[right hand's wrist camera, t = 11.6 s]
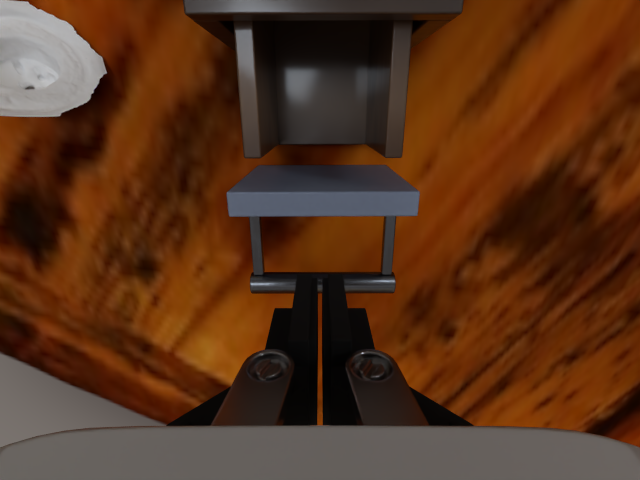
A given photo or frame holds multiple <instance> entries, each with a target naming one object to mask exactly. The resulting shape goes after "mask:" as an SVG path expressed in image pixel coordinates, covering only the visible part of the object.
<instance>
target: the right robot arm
mask: <svg viewBox="0 0 640 480" xmlns="http://www.w3.org/2000/svg"><path fill="white" fill-rule="evenodd" d="M317 382H318V278H312V274H297V279H296V286H295V293H294V300H293V307H292V308H275V310H274V313H273V318H272V322H271V326H270V330H269V335H268V339H267V343H266V348H265V350H262V351H259V352H256V353H254V354H252V355H251V356H249V357H248V358H247V359H246V360H245V362H244V363H243V365H242V367H241V369H240V370H239V372H238V374H237V376H236V378H235V380H234V382H233V384H232V386H231V387H229V388H228V389H226V390H224V391H223V392H221V393H219V394H218V395H216V396H214V397H213V398H211V399H209V400H208V401H206V402H204V403H203V404H201V405H199V406H198V407H196V408H194V409H193V410H191V411H189V412H188V413H186V414H184V415H183V416H181V417H179V418H178V419H176V420H174V421H173V422H171V423H169V424H168V425H167V426H129V427H102V428H85V429H76V430H67V431H61V432H56V433H51V434H46V435H41V436H36V437H32V438H29V439H26V440H22V441H19V442H16V443H12V444H9V445H6V446H3V447H1V448H0V480H640V447H637V446H634V445H631V444H628V443H625V442H621V441H618V440H614V439H611V438H608V437H604V436H599V435H594V434H589V433H584V432H579V431H573V430H564V429H555V428H538V427H511V426H473V425H472V424H471V423H469V422H467V421H466V420H464V419H462V418H461V417H459V416H457V415H456V414H454V413H452V412H451V411H449V410H447V409H446V408H444V407H442V406H441V405H439V404H437V403H436V402H434V401H432V400H431V399H429V398H427V397H426V396H424V395H422V394H421V393H419V392H417V391H416V390H414V389H412V388H411V387H409V386H408V384H407V382H406V380H405V378H404V376H403V374H402V372H401V370H400V369H399V367H398V365H397V363H396V362H395V360H394V359H393V358H392V357H391V356H389V355H388V354H386V353H384V352H381V351H378V350H375V348H374V343H373V339H372V335H371V330H370V326H369V322H368V318H367V313H366V310H365V308H348V307H347V300H346V293H345V286H344V279H343V274H328V278H322V382H323V425H330V426H310V425H317Z"/></svg>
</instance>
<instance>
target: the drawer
mask: <svg viewBox="0 0 640 480" xmlns="http://www.w3.org/2000/svg"><path fill="white" fill-rule="evenodd" d="M233 24H234V36H235V49H236V62H237V74H238V87H239V100H240V112H241V125H242V138H243V150H244V157H245V158H261V157H263V156H264V155H265V154H267V153H268V152H269V151H271V150H272V149H273V148H275V147H276V146H277V145H307V144H366V145H368V146H369V147H371V148H372V149H374V150H375V151H377V152H378V153H380V154H381V155H383V156H384V157H386V158H401V157H402V152H403V139H404V126H405V113H406V101H407V88H408V75H409V63H410V50H411V37H412V24H413V20H293V21H233ZM419 195H420V192H419V191H418V190H417V189H415V188H414V187H413V186H412V185H410V184H409V183H408V182H406V181H405V180H404V179H403V178H401V177H400V176H399V175H398V174H396V173H395V172H394V171H393V170H391V169H390V168H389V167H388V166H386V165H259V166H257V167H256V168H255V169H254V170H253V171H251V172H250V173H249V174H248V175H247V176H246V177H244V178H243V179H242V180H241V181H240V182H238V183H237V184H236V185H235V186H234V187H233V188H231V189H230V190H229V191H228V192H227V202H228V212H229V216H231V217H249V220H250V233H251V245H252V258H253V271H254V272H252V274H251V277H250V290H251V293H252V294H285V293H295V286H296V279H297V274H312V278H318V293H322V278H328V274H343V279H344V286H345V293H394V291H395V275H394V273H393V272H392V262H393V249H394V236H395V224H396V216H417V214H418V205H419ZM261 216H384V225H383V240H382V256H381V272H264V271H265V268H264V252H263V237H262V222H261Z"/></svg>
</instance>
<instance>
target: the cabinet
mask: <svg viewBox="0 0 640 480" xmlns="http://www.w3.org/2000/svg"><path fill="white" fill-rule="evenodd" d="M183 3H184V11H185V14H186V15H187V16H188V17H190V18H191V19H192V20H194V22H196V23H197V24H199V25H200V26H201V27H203V28H204V29H205V30H207V31H208V32H210V33H211V34H212V35H214V36H215V37H216V38H218V39H219V40H221V41H222V42H223V43H225V44H226V45H227V46H229V47H230V48H232V49H233V50H234V51H236V49H235V36H234V24H233V21H293V20H413V24H412V37H411V48H413V47H414V46H416V45H417V44H419V43H420V42H421V41H423V40H424V39H426V38H427V37H428V36H430V35H431V34H433V33H434V32H436V31H437V30H438V29H440V28H441V27H443V26H444V25H445V24H447V23H448V22H450V21H451V20H452V19H454V18H456V17H457V16H458V15H460V14H461V13H462V9H463V0H183Z"/></svg>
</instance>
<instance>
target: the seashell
mask: <svg viewBox="0 0 640 480" xmlns="http://www.w3.org/2000/svg"><path fill="white" fill-rule="evenodd" d="M104 74H107V72H106V69H105V65H104V62H103V58H102V57H101V56H99V55H98V54H97V53H95V51H94V50H93V49H92V48H90V45H89V44H88V43H87V42H86V41H85V40H83V38H81V37H80V36H79V35H77V34H76V31H74V28H73V27H72V25H70V24H68V22H66V21H63V20H60V19H58V18H56V17H55V16H54V15H51V14H48V13H46V12H44V11H42V10H41V9H39V10H38V9H36V8H35V7H34V6H32V5H30V4H29V2H23V1H10V0H0V116H17V117H53V116H60V115H61V113H63V112H65V111H68V110H70V109H73V108H76V107H78V106H80V105H83V104H84V103H87V101H89V100H90V98H91V94H92V93H94V89H95V88H96V87H97V85H98V84H99V80H100V78H102V77H103V75H104Z"/></svg>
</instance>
